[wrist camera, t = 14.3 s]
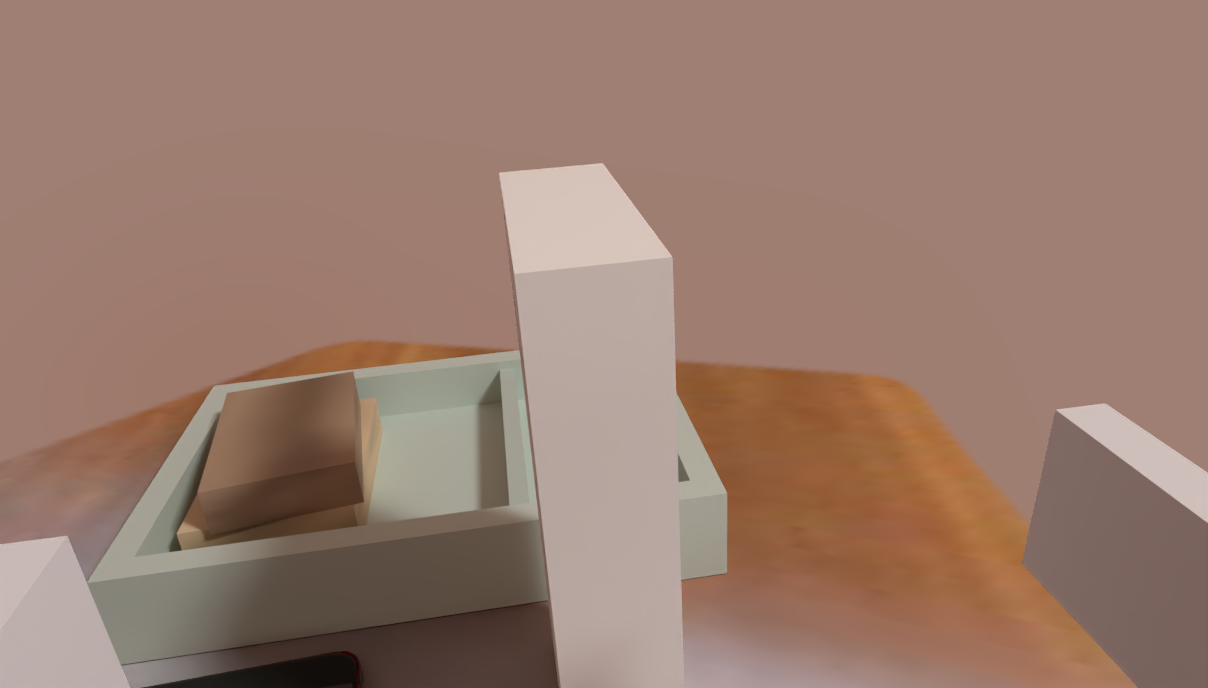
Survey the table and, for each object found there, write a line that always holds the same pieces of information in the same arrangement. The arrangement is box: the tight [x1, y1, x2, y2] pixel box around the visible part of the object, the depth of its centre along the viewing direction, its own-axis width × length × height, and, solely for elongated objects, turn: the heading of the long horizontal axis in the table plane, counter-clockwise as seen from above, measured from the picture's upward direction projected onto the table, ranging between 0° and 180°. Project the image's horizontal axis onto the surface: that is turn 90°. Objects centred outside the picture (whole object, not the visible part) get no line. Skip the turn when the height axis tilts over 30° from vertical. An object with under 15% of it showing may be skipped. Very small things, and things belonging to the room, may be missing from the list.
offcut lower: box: [177, 398, 383, 550], centre depth 38 cm, size 7×10×2 cm
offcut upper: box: [197, 371, 364, 534], centre depth 37 cm, size 6×9×2 cm, turn 16°
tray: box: [87, 350, 727, 665], centre depth 39 cm, size 24×16×4 cm, turn 99°
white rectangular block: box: [499, 163, 684, 688], centre depth 23 cm, size 3×9×18 cm, turn 9°
